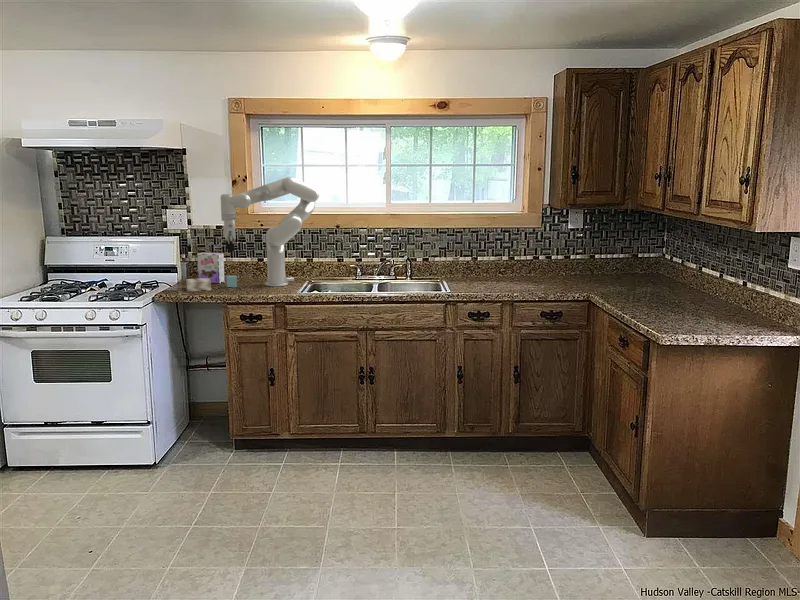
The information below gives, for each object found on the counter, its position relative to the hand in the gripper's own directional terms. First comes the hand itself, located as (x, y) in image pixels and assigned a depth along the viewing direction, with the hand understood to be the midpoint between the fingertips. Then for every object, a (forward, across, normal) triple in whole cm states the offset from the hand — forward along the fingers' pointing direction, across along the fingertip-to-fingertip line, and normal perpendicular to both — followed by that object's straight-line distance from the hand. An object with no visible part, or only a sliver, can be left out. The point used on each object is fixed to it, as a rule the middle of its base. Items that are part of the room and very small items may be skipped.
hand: (230, 250), depth 346 cm
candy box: (+20, +20, +9) cm, 30 cm away
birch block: (+20, 0, +17) cm, 26 cm away
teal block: (+20, 0, 0) cm, 20 cm away
